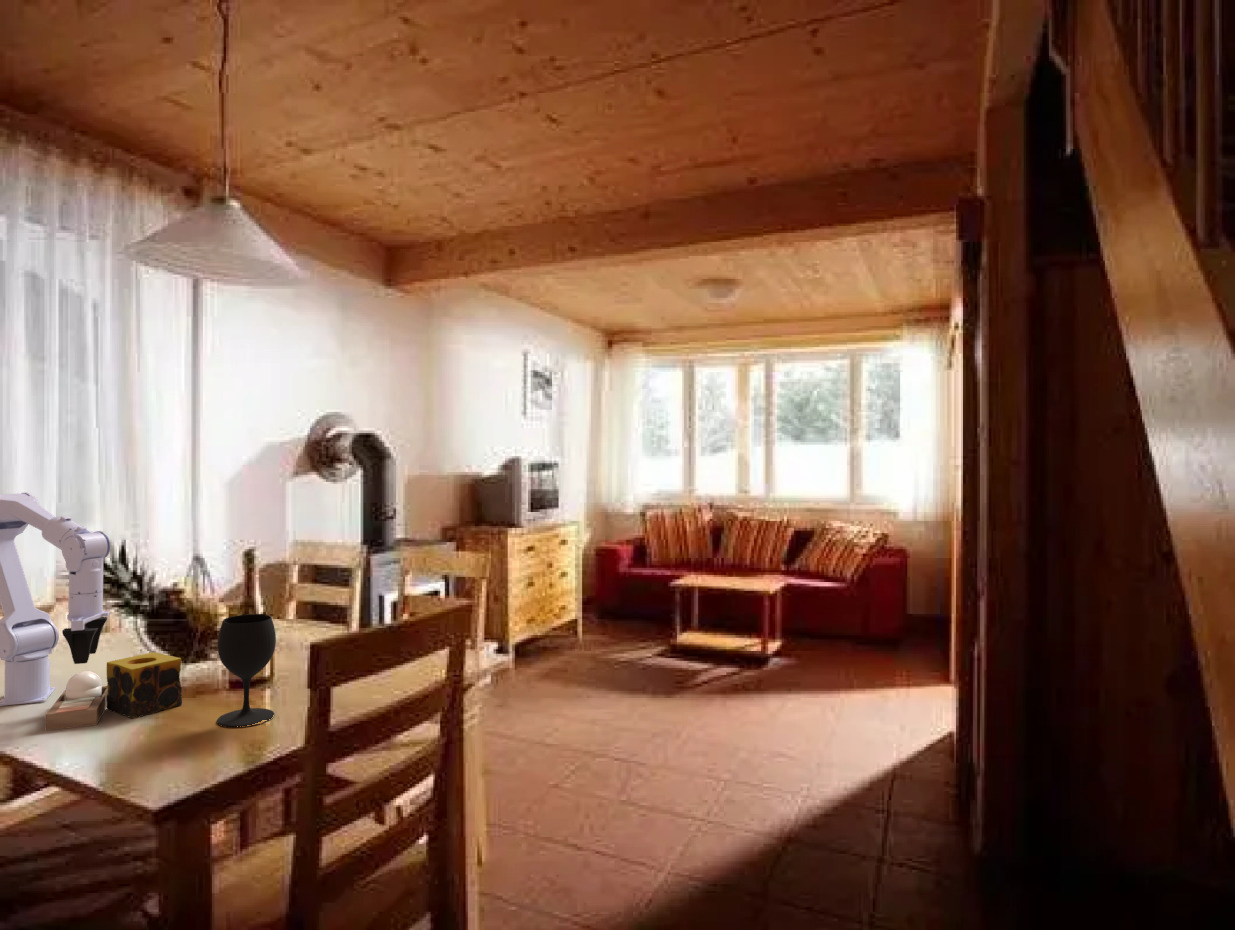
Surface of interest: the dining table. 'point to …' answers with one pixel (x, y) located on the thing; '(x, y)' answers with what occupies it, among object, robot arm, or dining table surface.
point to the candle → (143, 684)
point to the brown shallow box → (76, 711)
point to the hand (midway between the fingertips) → (85, 658)
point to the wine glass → (246, 660)
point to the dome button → (84, 686)
